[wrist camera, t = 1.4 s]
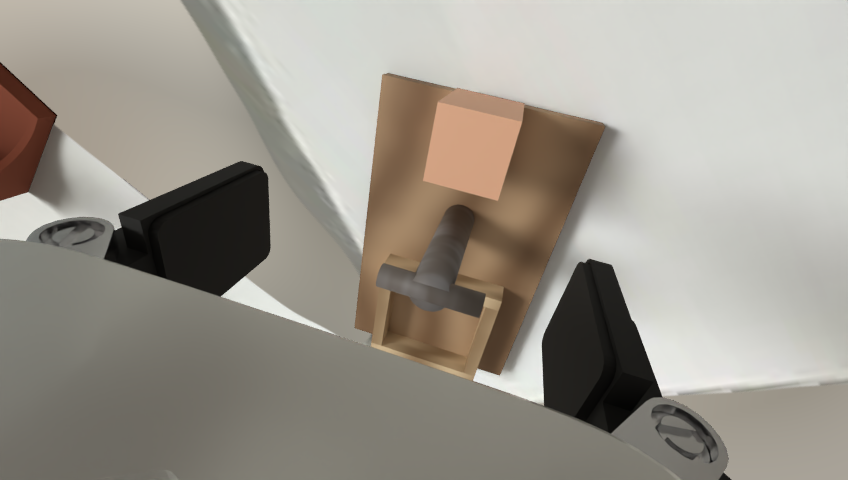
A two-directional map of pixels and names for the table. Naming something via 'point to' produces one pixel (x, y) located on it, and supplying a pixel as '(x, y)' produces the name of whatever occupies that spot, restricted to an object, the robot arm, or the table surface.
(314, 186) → the table surface
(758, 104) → the table surface
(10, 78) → the red dustpan
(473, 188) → the salmon orange block
